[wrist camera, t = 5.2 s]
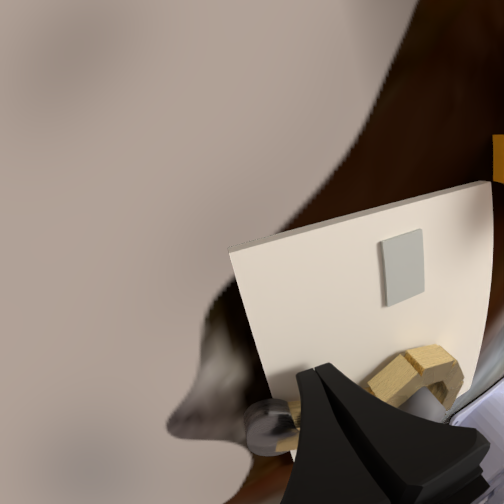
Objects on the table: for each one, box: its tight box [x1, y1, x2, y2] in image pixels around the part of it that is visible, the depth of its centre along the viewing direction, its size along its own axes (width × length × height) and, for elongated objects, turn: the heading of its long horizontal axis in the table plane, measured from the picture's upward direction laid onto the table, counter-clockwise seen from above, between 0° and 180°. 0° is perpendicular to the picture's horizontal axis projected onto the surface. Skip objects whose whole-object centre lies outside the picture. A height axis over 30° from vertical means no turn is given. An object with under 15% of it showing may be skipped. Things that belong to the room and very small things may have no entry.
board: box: [228, 181, 493, 461], centre depth 11 cm, size 14×13×4 cm
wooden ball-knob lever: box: [244, 344, 465, 456], centre depth 11 cm, size 11×6×2 cm, turn 88°
